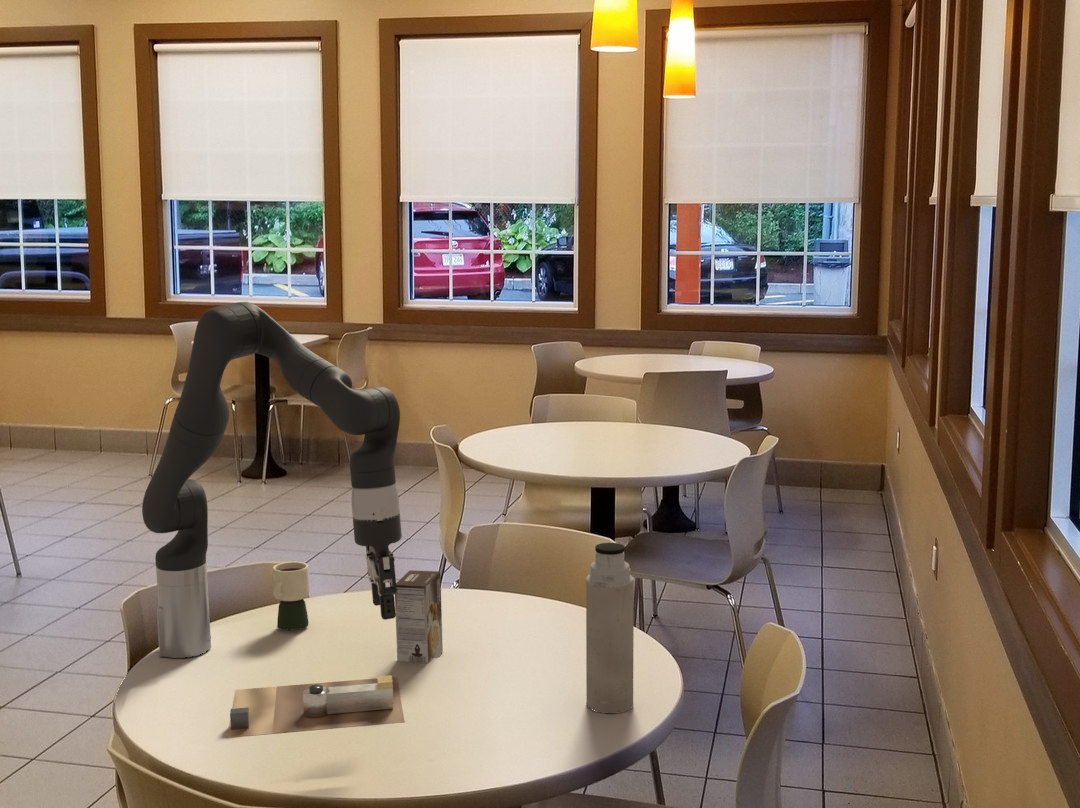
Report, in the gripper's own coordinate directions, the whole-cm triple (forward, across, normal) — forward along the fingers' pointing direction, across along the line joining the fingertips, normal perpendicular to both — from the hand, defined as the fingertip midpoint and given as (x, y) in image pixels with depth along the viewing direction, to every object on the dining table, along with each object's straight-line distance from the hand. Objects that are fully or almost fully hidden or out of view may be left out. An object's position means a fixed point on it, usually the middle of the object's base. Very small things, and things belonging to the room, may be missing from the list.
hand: (384, 611), depth 185 cm
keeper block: (+17, -6, -24) cm, 30 cm away
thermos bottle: (+21, +2, +37) cm, 43 cm away
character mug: (+16, -52, -12) cm, 56 cm away
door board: (+18, -10, -11) cm, 24 cm away
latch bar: (+18, -7, -6) cm, 20 cm away
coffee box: (+18, -28, +10) cm, 35 cm away
